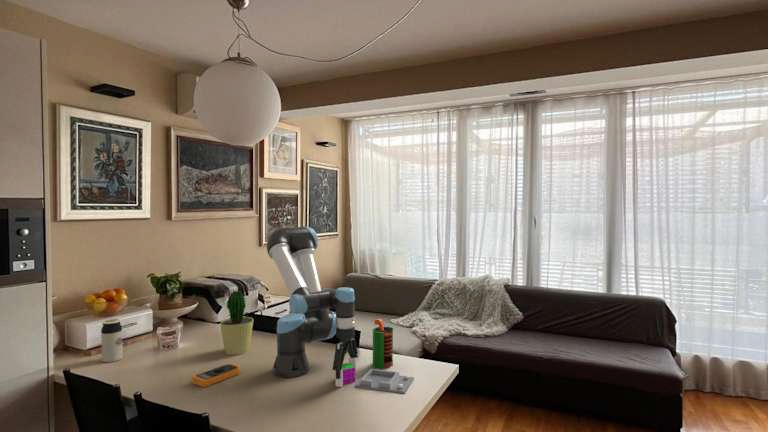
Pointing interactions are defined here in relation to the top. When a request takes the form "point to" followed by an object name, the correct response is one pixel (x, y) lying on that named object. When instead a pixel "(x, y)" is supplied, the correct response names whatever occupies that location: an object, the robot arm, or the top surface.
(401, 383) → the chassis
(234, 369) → the multimeter
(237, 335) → the potted cactus
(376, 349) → the motor
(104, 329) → the travel mug
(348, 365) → the puzzle toy
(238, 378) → the top surface
